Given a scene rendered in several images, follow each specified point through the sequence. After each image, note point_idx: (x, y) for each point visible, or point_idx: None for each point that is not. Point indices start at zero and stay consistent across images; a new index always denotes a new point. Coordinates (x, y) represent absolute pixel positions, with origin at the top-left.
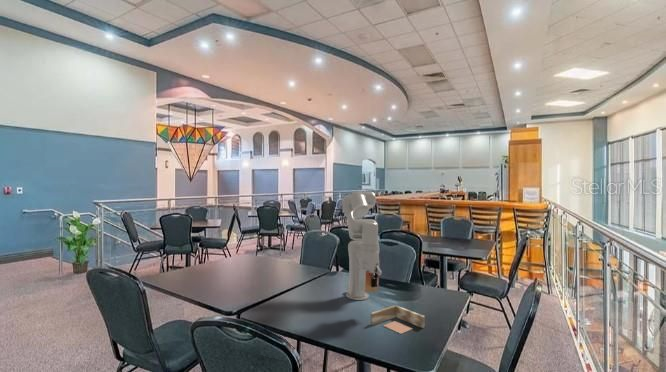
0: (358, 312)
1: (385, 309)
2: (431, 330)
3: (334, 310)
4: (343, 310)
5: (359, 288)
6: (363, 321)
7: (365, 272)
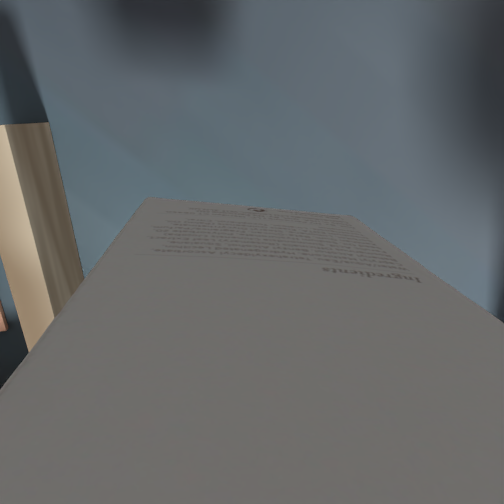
0: (309, 192)
1: (30, 322)
2: None
3: (472, 27)
4: (420, 103)
5: (337, 216)
6: (129, 103)
7: None
